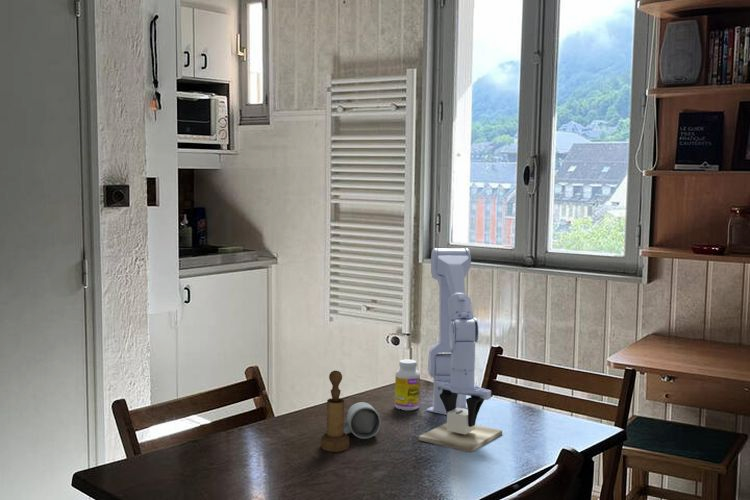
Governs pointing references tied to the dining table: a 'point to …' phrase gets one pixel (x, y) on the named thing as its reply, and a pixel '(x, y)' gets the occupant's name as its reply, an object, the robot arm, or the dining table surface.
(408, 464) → the dining table surface
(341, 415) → the mortar and pestle
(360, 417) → the ceramic mug
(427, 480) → the dining table surface
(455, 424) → the white cabinet with handle
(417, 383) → the supplement bottle
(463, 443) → the board
